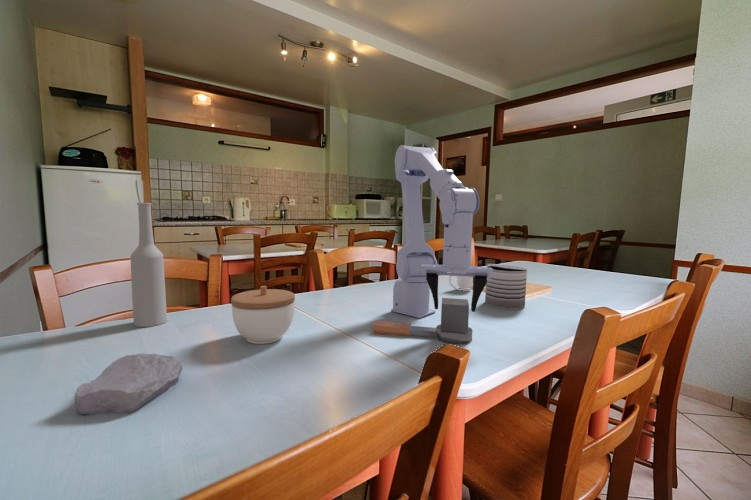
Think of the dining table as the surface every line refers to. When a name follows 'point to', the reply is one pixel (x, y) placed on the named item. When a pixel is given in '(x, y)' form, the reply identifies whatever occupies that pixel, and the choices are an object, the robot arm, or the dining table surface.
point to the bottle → (147, 275)
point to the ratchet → (421, 332)
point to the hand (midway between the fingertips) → (454, 309)
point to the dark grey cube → (454, 315)
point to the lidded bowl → (263, 314)
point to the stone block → (128, 384)
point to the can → (506, 287)
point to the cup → (463, 282)
